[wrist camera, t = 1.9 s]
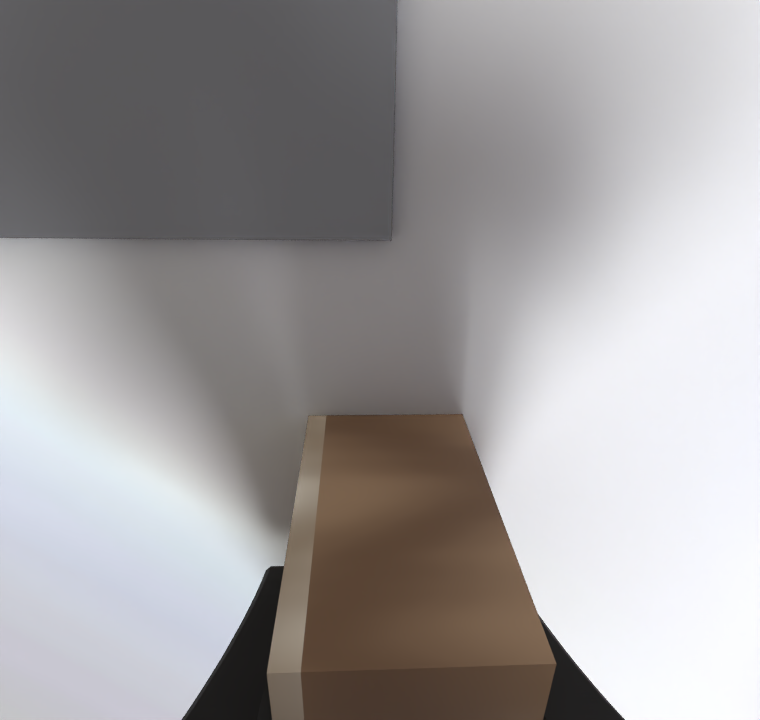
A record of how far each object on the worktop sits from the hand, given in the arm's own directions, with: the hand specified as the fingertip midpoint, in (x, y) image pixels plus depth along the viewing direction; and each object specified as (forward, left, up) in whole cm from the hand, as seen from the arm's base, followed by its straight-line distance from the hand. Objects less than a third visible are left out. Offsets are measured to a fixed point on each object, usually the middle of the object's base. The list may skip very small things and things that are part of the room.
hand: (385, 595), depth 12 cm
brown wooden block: (0, 0, -2) cm, 2 cm away
